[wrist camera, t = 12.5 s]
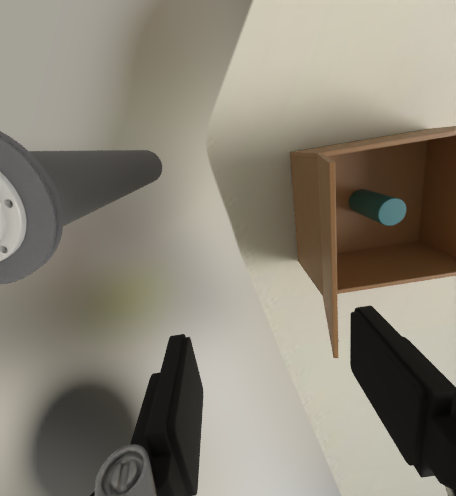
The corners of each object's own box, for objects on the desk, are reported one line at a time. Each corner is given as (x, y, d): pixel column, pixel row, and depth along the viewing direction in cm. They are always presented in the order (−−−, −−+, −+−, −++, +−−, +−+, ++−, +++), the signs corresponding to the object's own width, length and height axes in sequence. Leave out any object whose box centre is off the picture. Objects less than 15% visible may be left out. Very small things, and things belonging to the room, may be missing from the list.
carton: (297, 261, 33) (322, 296, 25) (290, 151, 29) (317, 152, 21) (418, 242, 33) (482, 271, 25) (429, 128, 28) (511, 120, 20)
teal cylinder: (348, 213, 31) (377, 228, 25) (348, 191, 30) (378, 200, 24) (371, 210, 31) (405, 223, 25) (372, 187, 30) (407, 196, 24)
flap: (326, 299, 24) (323, 299, 25) (322, 153, 20) (317, 154, 20) (338, 358, 18) (333, 358, 18) (335, 161, 14) (328, 162, 14)
